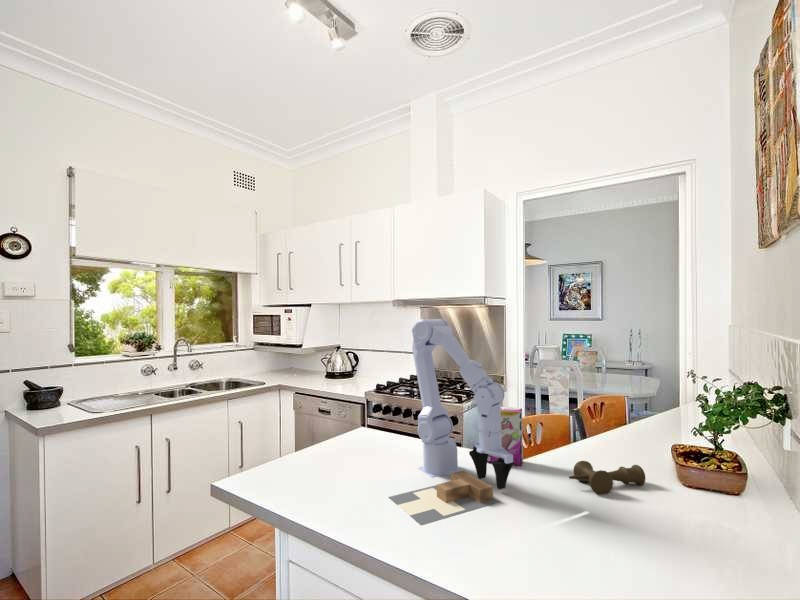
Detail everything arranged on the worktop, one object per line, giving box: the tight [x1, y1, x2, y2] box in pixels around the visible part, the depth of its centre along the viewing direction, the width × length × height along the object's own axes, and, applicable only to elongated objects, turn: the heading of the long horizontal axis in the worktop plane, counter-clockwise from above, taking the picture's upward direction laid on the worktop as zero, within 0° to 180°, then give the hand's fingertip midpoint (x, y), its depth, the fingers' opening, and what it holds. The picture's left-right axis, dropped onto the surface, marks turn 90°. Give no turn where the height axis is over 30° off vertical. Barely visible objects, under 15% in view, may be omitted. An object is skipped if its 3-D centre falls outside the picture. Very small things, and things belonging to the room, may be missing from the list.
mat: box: [388, 484, 500, 526], centre depth 102 cm, size 22×16×1 cm
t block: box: [436, 470, 494, 503], centre depth 105 cm, size 11×12×3 cm
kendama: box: [568, 460, 646, 496], centre depth 110 cm, size 6×10×20 cm
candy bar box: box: [487, 406, 524, 467], centre depth 129 cm, size 11×5×16 cm, turn 71°
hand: (491, 482), depth 110 cm, fingers open, 7 cm apart
